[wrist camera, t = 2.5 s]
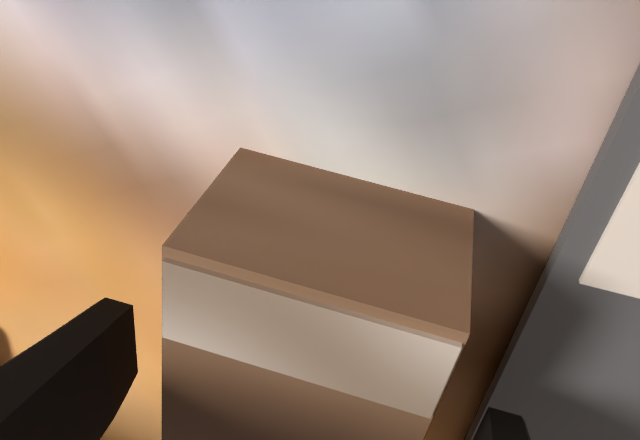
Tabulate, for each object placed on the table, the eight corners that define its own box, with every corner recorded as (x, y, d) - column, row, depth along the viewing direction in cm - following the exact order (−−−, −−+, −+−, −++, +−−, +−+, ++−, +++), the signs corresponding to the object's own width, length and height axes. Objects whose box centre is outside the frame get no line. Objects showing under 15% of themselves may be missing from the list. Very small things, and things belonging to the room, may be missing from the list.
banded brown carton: (380, 450, 15) (355, 594, 12) (220, 400, 16) (159, 528, 13) (474, 202, 11) (469, 338, 8) (244, 142, 11) (159, 249, 8)
